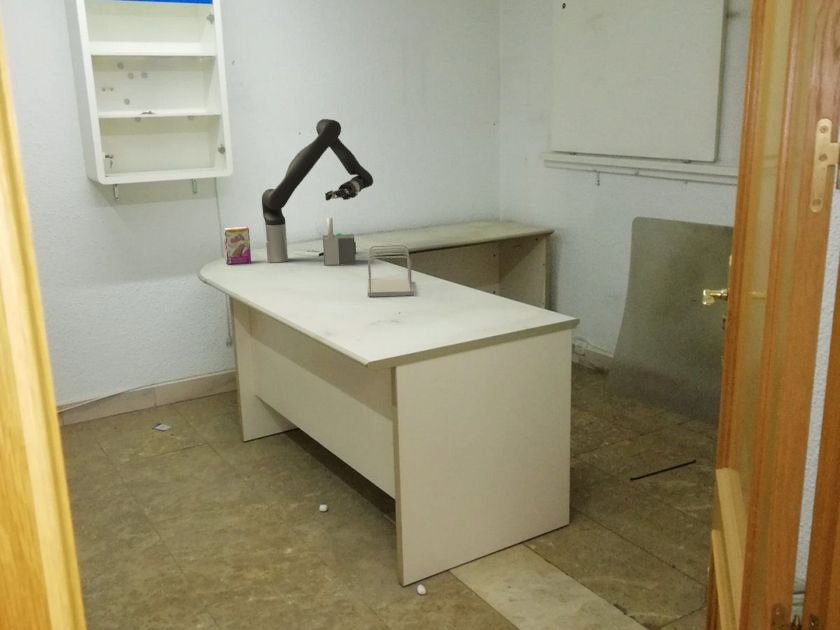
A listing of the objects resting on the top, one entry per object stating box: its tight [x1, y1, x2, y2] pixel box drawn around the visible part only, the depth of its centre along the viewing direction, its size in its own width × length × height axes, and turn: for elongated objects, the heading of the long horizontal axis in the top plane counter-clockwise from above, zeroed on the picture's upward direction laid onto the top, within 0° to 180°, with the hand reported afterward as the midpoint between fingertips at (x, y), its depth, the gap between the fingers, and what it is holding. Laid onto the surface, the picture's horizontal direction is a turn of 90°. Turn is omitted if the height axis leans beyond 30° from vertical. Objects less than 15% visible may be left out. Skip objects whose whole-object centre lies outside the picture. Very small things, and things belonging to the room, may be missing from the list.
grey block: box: [322, 233, 357, 266], centre depth 374 cm, size 15×10×12 cm
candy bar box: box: [222, 226, 252, 266], centre depth 378 cm, size 11×5×16 cm, turn 113°
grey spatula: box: [323, 217, 339, 266], centre depth 367 cm, size 6×2×21 cm, turn 97°
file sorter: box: [367, 244, 415, 298], centre depth 320 cm, size 25×17×16 cm
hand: (335, 198), depth 372 cm, fingers open, 8 cm apart
